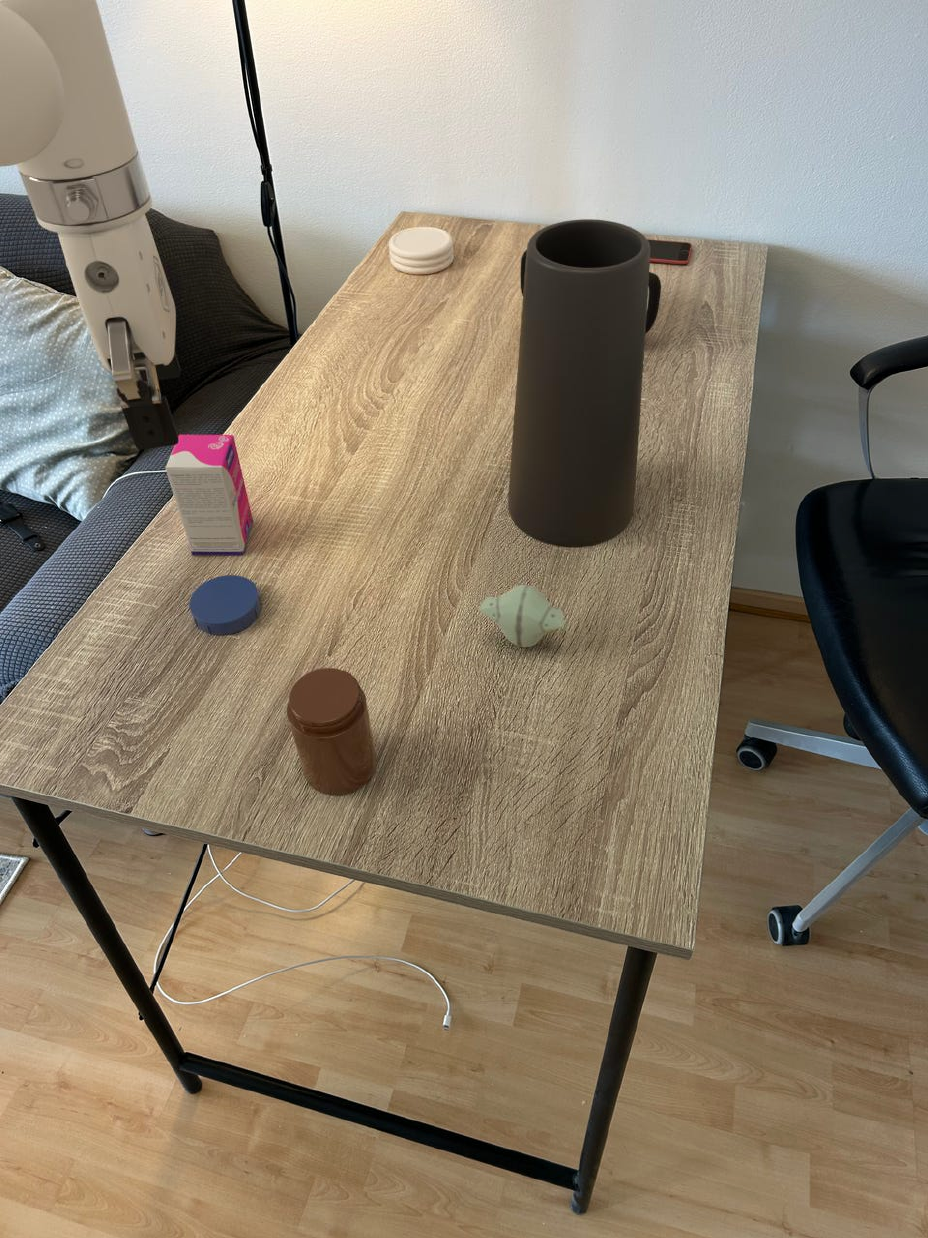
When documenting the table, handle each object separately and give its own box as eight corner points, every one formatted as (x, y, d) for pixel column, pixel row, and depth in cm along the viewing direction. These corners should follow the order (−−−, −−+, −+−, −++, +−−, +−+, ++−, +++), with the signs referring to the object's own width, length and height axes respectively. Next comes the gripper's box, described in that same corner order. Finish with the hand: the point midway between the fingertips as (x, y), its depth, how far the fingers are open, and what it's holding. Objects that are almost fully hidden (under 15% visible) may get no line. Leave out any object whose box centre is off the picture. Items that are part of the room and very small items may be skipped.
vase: (488, 527, 96) (484, 264, 75) (534, 456, 104) (542, 201, 83) (611, 560, 92) (642, 291, 71) (648, 483, 100) (687, 222, 79)
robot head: (476, 650, 84) (474, 599, 79) (488, 619, 87) (487, 568, 82) (560, 666, 82) (563, 616, 77) (569, 634, 85) (573, 583, 80)
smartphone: (688, 262, 135) (596, 254, 138) (688, 265, 136) (596, 257, 139) (693, 242, 140) (603, 234, 143) (692, 245, 140) (603, 238, 143)
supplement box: (246, 555, 94) (221, 467, 86) (190, 556, 94) (160, 468, 86) (256, 520, 98) (233, 432, 90) (202, 520, 98) (175, 433, 90)
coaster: (463, 252, 142) (463, 229, 139) (438, 280, 136) (437, 257, 133) (406, 243, 145) (405, 221, 142) (379, 270, 138) (377, 247, 136)
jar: (345, 808, 73) (329, 739, 66) (288, 773, 75) (266, 704, 68) (391, 754, 76) (380, 684, 69) (335, 723, 79) (318, 652, 72)
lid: (227, 578, 92) (223, 566, 91) (275, 603, 89) (272, 591, 88) (179, 617, 88) (174, 605, 87) (227, 645, 85) (223, 633, 84)
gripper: (139, 235, 54) (208, 467, 66) (151, 137, 66) (207, 349, 78) (10, 250, 53) (104, 482, 65) (45, 148, 65) (119, 361, 77)
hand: (160, 409), depth 72 cm, fingers open, 9 cm apart
